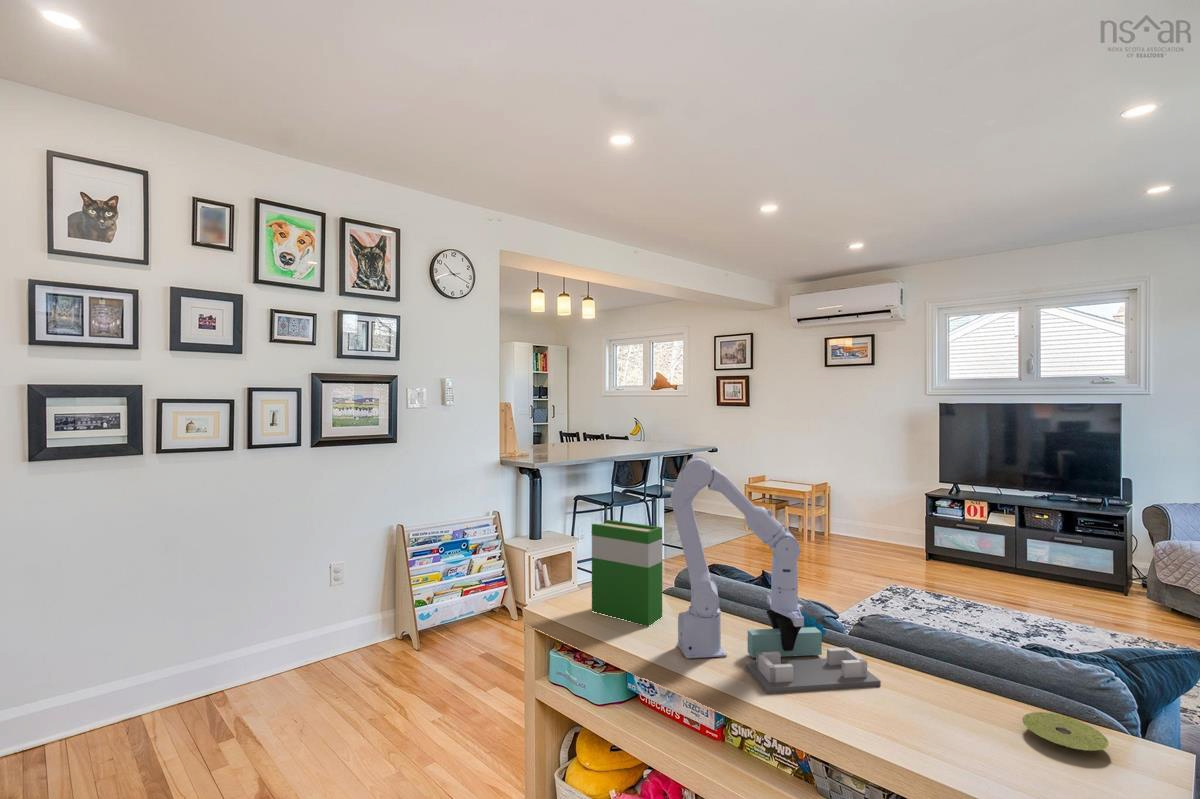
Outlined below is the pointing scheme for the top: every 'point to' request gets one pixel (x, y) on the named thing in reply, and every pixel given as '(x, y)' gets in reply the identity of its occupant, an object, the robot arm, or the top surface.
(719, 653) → the robot arm
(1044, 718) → the mat
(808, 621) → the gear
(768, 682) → the cradle
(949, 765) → the top surface
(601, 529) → the hardback book
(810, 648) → the teal rectangular block
